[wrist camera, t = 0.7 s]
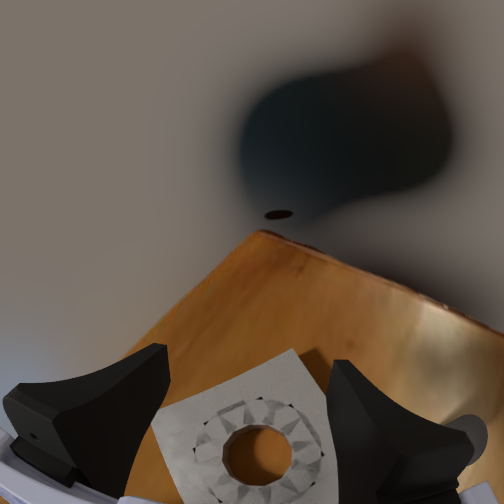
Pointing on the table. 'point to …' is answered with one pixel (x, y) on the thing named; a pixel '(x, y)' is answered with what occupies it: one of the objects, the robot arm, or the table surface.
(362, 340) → the table surface
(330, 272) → the table surface
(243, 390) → the grey square plate
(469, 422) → the grey rounded cylinder
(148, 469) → the table surface
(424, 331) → the table surface
